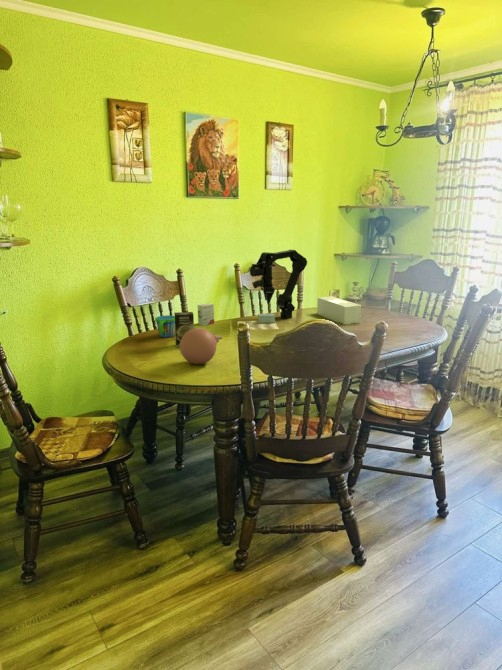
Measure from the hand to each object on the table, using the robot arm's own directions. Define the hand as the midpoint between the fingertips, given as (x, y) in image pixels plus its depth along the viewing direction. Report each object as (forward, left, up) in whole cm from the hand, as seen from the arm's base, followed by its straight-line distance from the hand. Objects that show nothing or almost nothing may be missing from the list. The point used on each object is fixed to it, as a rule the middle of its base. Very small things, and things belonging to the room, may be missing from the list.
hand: (267, 301), depth 258 cm
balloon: (+35, +68, -13) cm, 78 cm away
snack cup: (+56, +23, -13) cm, 62 cm away
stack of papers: (-44, -10, -13) cm, 47 cm away
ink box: (+36, -2, -13) cm, 38 cm away
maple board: (+7, +9, -13) cm, 17 cm away
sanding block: (+1, +3, -11) cm, 12 cm away
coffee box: (+45, +41, -13) cm, 62 cm away
